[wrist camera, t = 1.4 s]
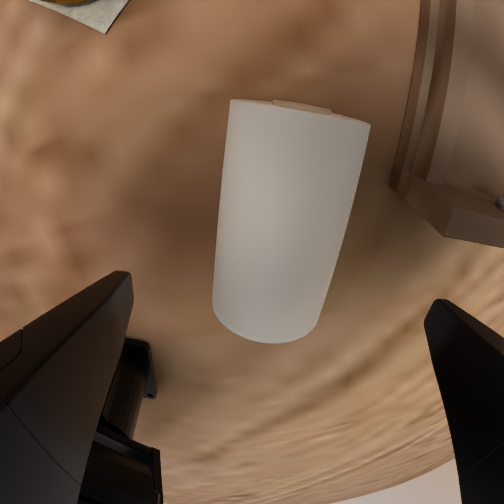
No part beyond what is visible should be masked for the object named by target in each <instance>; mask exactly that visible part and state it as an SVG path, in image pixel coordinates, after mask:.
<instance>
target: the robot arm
mask: <svg viewBox="0 0 504 504" xmlns="http://www.w3.org/2000/svg"><path fill="white" fill-rule="evenodd" d="M133 302H134V295H133V286H132V277H131V274H130V273H129V272H126V271H119V270H116V271H114V272H112V273H110V274H109V275H107V276H105V277H104V278H102V279H100V280H98V281H97V282H95V283H93V284H92V285H90V286H88V287H87V288H85V289H83V290H82V291H80V292H79V293H77V294H75V295H74V296H72V297H70V298H69V299H67V300H65V301H64V302H62V303H61V304H59V305H57V306H56V307H54V308H53V309H51V310H49V311H48V312H46V313H45V314H43V315H41V316H40V317H38V318H37V319H35V320H34V321H32V322H31V323H29V324H27V325H26V326H24V327H23V330H22V329H20V330H18V331H17V332H15V333H14V334H12V335H10V336H9V337H7V338H6V339H4V340H3V341H1V342H0V504H163V491H162V478H161V463H160V450H158V449H156V448H153V447H151V448H150V447H148V446H145V445H143V444H141V443H138V442H136V441H134V440H133V435H134V431H135V427H136V423H137V419H138V414H139V410H140V406H141V402H142V398H143V397H144V398H150V399H154V398H156V395H157V390H156V384H155V378H154V372H153V365H152V359H151V352H150V347H149V345H148V344H146V343H144V342H140V341H134V340H128V339H125V335H126V331H127V327H128V323H129V319H130V315H131V311H132V307H133ZM424 328H425V333H426V337H427V341H428V346H429V350H430V355H431V360H432V364H433V368H434V372H435V375H436V379H437V382H438V386H439V389H440V393H441V397H442V401H443V405H444V409H445V413H446V417H447V421H448V425H449V430H450V434H451V439H452V444H453V449H454V454H455V459H456V465H457V471H458V477H459V485H460V493H461V500H462V504H504V338H503V337H502V336H500V335H499V334H497V333H496V332H495V331H493V330H492V329H490V328H489V327H487V326H486V325H485V324H483V323H482V322H480V321H479V320H477V319H476V318H474V317H473V316H471V315H470V314H468V313H467V312H465V311H464V310H462V309H461V308H459V307H458V306H456V305H455V304H453V303H452V302H450V301H449V300H447V299H436V300H435V301H434V302H433V304H432V306H431V308H430V310H429V311H428V313H427V315H426V317H425V320H424Z"/></svg>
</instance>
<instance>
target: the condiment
mask: <svg viewBox="0 0 504 504" xmlns="http://www.w3.org/2000/svg"><path fill="white" fill-rule="evenodd" d="M29 1H32V2H34V3H37V4H40V5H42V6H45V7H47V8H50V9H52V10H54V11H57V12H59V13H61V14H64V15H66V16H68V17H70V18H73V19H75V20H77V21H79V22H81V23H83V24H85V25H87V26H89V27H91V28H93V29H95V30H98V31H100V32H102V33H104V34H105V33H106V31H107V30H108V28H109V27H110V25H111V24H112V22H113V21H114V19H115V18H116V17H117V15H118V14H119V12H120V11H121V10H122V8H123V7H124V6H125V4H126V3H127V2H128V0H29Z"/></svg>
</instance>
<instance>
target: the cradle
mask: <svg viewBox="0 0 504 504" xmlns="http://www.w3.org/2000/svg"><path fill="white" fill-rule="evenodd" d="M389 187H390V188H391V189H392V190H394V191H395V192H396V193H397V194H398V195H399V196H400V197H402V198H403V199H404V200H405V201H406V202H407V203H408V204H409V205H410V206H412V207H413V208H414V209H415V210H416V211H417V212H418V213H419V214H420V215H421V216H422V217H423V218H424V219H426V220H427V221H428V222H429V223H430V224H431V225H432V226H433V227H434V228H435V229H436V230H437V231H438V232H439V233H440V234H441V235H442V236H443V237H448V238H453V239H459V240H464V241H470V242H475V243H480V244H485V245H490V246H495V247H500V248H504V0H421V9H420V20H419V30H418V39H417V47H416V54H415V61H414V68H413V75H412V81H411V87H410V92H409V98H408V103H407V109H406V114H405V119H404V123H403V128H402V133H401V137H400V142H399V146H398V150H397V154H396V159H395V163H394V167H393V171H392V175H391V178H390V182H389Z"/></svg>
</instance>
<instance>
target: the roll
mask: <svg viewBox="0 0 504 504" xmlns="http://www.w3.org/2000/svg"><path fill="white" fill-rule="evenodd" d="M331 111H332V110H331V109H328V108H324V107H319V106H315V105H310V104H305V103H299V102H293V101H286V100H278V99H272V102H270V101H260V100H248V99H231V100H230V108H229V116H228V125H227V134H226V143H225V153H224V162H223V172H222V183H221V193H220V204H219V215H218V227H217V239H216V251H215V265H214V278H213V293H212V307H213V310H214V313H215V315H216V317H217V318H218V320H219V321H220V322H221V323H222V324H223V325H224V326H225V327H226V328H228V329H229V330H230V331H232V332H234V333H235V334H237V335H239V336H241V337H244V338H246V339H249V340H252V341H257V342H262V343H286V342H291V341H295V340H298V339H300V338H302V337H304V336H306V335H307V334H309V333H310V332H311V331H312V330H313V329H314V327H315V326H316V324H317V322H318V319H319V316H320V313H321V310H322V307H323V304H324V301H325V298H326V295H327V292H328V289H329V285H330V282H331V279H332V276H333V273H334V269H335V266H336V263H337V259H338V256H339V252H340V249H341V245H342V242H343V238H344V235H345V231H346V228H347V224H348V220H349V217H350V213H351V209H352V205H353V201H354V197H355V193H356V189H357V185H358V181H359V177H360V173H361V169H362V164H363V160H364V155H365V151H366V146H367V142H368V137H369V132H370V127H371V125H370V124H369V123H366V122H363V121H361V120H357V119H354V118H351V117H347V116H344V115H340V114H336V113H332V112H331Z"/></svg>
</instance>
